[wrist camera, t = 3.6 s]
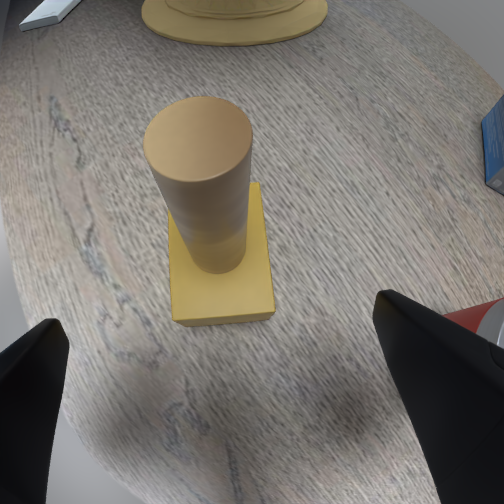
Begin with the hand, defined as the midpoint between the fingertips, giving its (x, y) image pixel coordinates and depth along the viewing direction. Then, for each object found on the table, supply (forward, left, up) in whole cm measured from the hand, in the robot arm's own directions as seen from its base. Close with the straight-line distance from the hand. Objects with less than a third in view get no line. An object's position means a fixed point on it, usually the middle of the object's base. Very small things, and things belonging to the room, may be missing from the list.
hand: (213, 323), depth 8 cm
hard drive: (+13, +50, -11) cm, 53 cm away
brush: (+3, +3, -11) cm, 12 cm away
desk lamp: (+26, +26, -11) cm, 39 cm away
